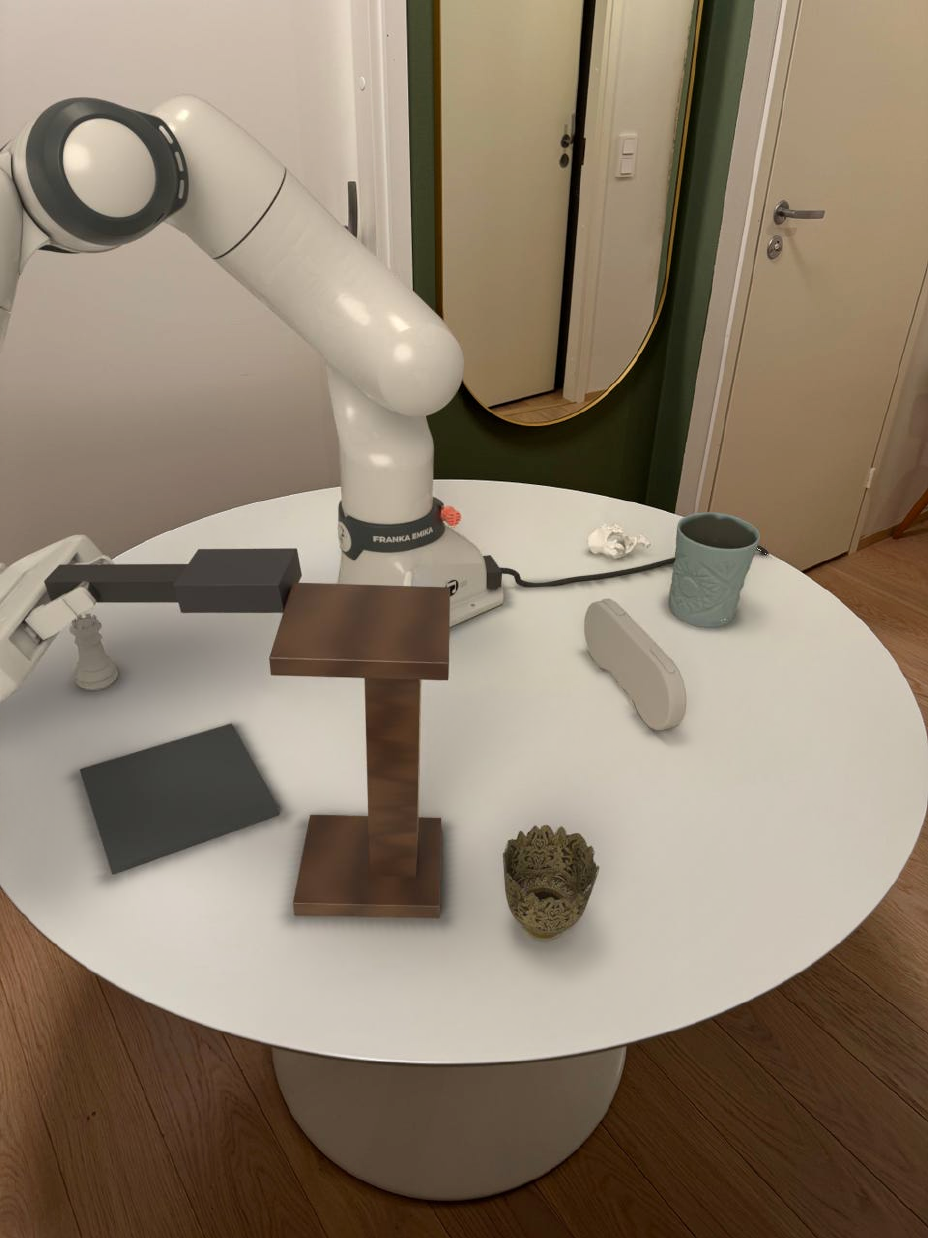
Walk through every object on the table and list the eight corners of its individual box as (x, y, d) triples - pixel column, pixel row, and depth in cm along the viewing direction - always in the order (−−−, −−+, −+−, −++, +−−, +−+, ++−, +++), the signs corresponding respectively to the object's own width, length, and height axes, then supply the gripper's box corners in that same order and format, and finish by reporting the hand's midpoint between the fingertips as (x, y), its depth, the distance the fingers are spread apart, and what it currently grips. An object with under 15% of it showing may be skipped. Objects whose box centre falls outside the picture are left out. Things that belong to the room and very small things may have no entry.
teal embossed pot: (730, 593, 119) (749, 513, 113) (748, 634, 111) (770, 550, 104) (656, 589, 119) (671, 509, 113) (668, 630, 111) (685, 546, 104)
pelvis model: (613, 546, 122) (583, 523, 126) (608, 571, 124) (578, 548, 129) (655, 532, 125) (624, 511, 130) (649, 557, 128) (619, 535, 132)
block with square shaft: (302, 575, 69) (297, 547, 68) (284, 613, 65) (278, 584, 63) (75, 576, 71) (65, 549, 70) (42, 613, 67) (31, 585, 65)
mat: (232, 728, 91) (231, 723, 91) (279, 814, 81) (279, 808, 81) (81, 775, 85) (79, 769, 84) (112, 874, 75) (110, 868, 74)
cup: (492, 891, 75) (498, 824, 71) (577, 887, 76) (587, 821, 71) (503, 967, 69) (510, 899, 64) (595, 962, 69) (608, 895, 65)
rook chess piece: (105, 695, 95) (91, 634, 91) (68, 688, 96) (52, 627, 92) (126, 671, 99) (114, 611, 95) (90, 665, 100) (76, 606, 95)
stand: (441, 829, 81) (450, 586, 67) (439, 918, 72) (449, 663, 58) (310, 826, 80) (292, 581, 66) (293, 915, 72) (268, 657, 58)
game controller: (681, 741, 93) (695, 678, 88) (662, 745, 92) (676, 682, 87) (596, 642, 108) (605, 584, 103) (580, 645, 107) (587, 587, 103)
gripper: (-135, 697, 61) (14, 620, 58) (-3, 558, 78) (118, 492, 75) (-67, 758, 64) (79, 687, 61) (45, 611, 81) (164, 550, 78)
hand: (101, 578), depth 68 cm, fingers closed on block with square shaft, 3 cm apart
